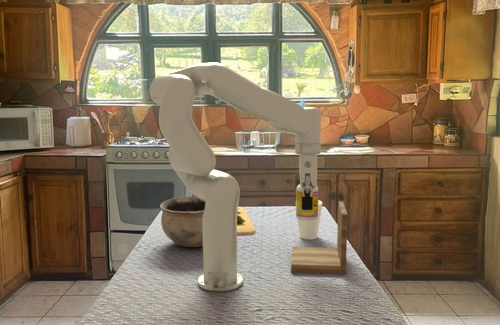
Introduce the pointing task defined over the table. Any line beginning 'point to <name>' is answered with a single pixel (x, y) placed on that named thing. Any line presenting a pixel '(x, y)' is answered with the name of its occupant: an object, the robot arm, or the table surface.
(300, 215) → the supplement bottle
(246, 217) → the cutting board
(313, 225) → the foam cup
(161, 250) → the table surface
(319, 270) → the wooden bookend
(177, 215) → the ceramic bowl
